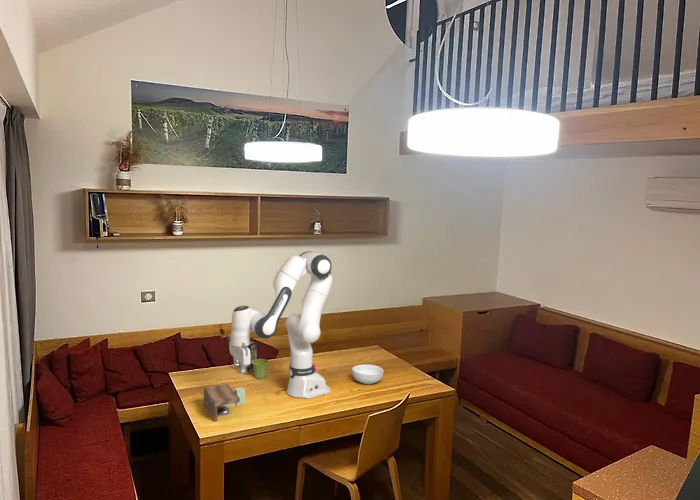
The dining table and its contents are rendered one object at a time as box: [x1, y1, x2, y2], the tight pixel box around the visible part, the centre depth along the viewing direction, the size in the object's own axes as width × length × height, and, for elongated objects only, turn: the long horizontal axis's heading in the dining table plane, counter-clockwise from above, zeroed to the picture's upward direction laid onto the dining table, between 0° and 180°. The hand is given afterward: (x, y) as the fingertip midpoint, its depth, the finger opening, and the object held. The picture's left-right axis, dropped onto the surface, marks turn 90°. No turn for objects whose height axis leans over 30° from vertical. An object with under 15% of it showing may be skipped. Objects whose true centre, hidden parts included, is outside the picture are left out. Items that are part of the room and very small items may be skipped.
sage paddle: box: [217, 386, 246, 409], centre depth 260 cm, size 16×4×7 cm, turn 120°
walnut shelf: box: [203, 383, 240, 422], centre depth 253 cm, size 11×18×9 cm, turn 30°
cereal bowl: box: [351, 364, 384, 385], centre depth 298 cm, size 17×17×7 cm
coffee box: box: [238, 340, 258, 375], centre depth 306 cm, size 9×6×16 cm
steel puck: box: [217, 406, 230, 416], centre depth 252 cm, size 5×5×2 cm
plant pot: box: [252, 358, 270, 380], centre depth 298 cm, size 9×9×9 cm
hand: (239, 368), depth 261 cm, fingers open, 8 cm apart
